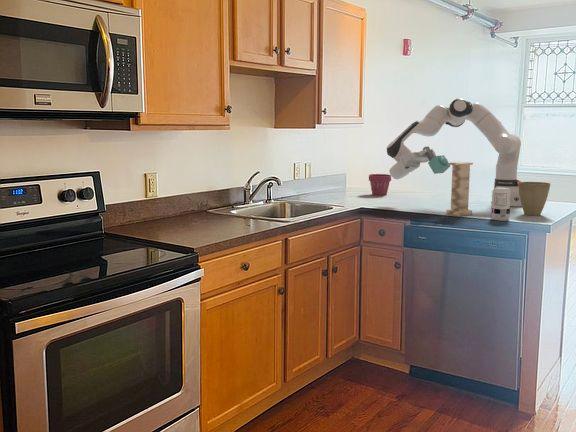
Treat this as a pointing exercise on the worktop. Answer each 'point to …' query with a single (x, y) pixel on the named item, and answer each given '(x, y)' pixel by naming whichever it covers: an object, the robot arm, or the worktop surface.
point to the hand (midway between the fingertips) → (429, 150)
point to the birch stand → (460, 189)
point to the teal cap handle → (436, 162)
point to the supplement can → (501, 203)
